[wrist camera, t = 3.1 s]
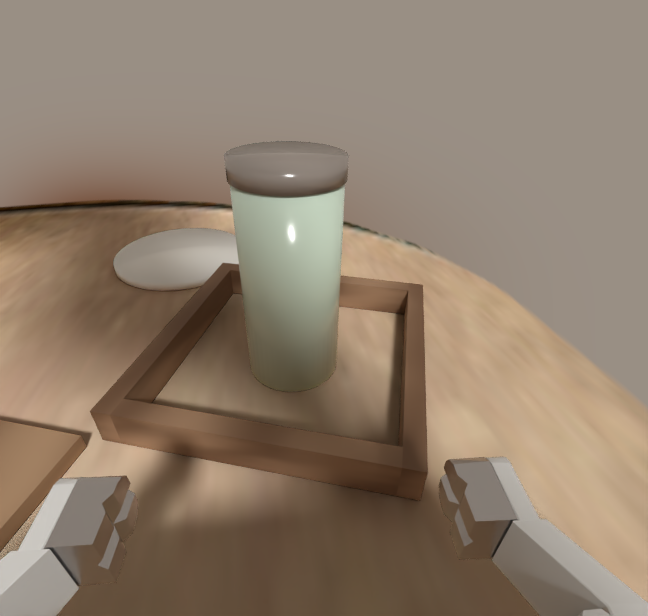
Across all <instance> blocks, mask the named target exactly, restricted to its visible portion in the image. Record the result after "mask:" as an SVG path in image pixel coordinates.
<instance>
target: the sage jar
mask: <svg viewBox="0 0 648 616" xmlns="http://www.w3.org/2000/svg"><path fill="white" fill-rule="evenodd" d="M224 160H225V167H226V176H227V182H228V183H229V184H230V191H231V200H232V209H233V217H234V226H235V235H236V244H237V252H238V261H239V270H240V278H241V287H242V296H243V305H244V313H245V322H246V331H247V339H248V348H249V357H250V366H251V370H252V373H253V375H254V376H255V378H256V379H257V380H258V381H259V382H261V383H262V384H263V385H265V386H267V387H269V388H272V389H275V390H279V391H285V392H298V391H305V390H309V389H312V388H314V387H317V386H319V385H321V384H322V383H324V382H325V381H326V380H328V379H329V378H330V376H331V375H332V374H333V372H334V370H335V368H336V360H337V339H338V318H339V297H340V277H341V256H342V235H343V214H344V193H345V190H344V189H345V183H346V182H347V177H348V176H347V175H348V154H347V152H345V151H344V150H342V149H340V148H337V147H333V146H330V145H325V144H319V143H310V142H296V141H276V142H262V143H253V144H247V145H243V146H239V147H236V148H233V149H230V150H229V151H227V152H226V153H225V154H224Z"/></svg>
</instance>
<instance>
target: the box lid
mask: <svg viewBox="0 0 648 616" xmlns="http://www.w3.org/2000/svg"><path fill="white" fill-rule="evenodd" d="M86 447H87V446H86V444H85V442H84V440H83V438H82V436H81V435H76V434H71V433H65V432H60V431H55V430H50V429H45V428H39V427H34V426H29V425H24V424H19V423H13V422H8V421H3V420H0V551H1V550H2V549H3V547H4V546H5V545H6V544H7V542H8V541H9V540H10V539H11V538H12V536H13V535H14V534H15V533H16V532H17V530H18V529H19V528H20V527H21V525H22V524H23V523H24V522H25V521H26V519H27V518H28V517H29V516H30V515H31V513H32V512H33V511H34V510H35V508H36V507H37V506H38V505H39V504H40V502H41V501H42V500H43V499H44V498H45V496H46V495H47V494H48V493H49V491H50V490H51V488H52V486H53V485H54V484H55V483H56V482H57V481H58V480H59V479H60V478H61V477H62V476H63V475H64V473H65V472H66V471H67V470H68V468H69V467H70V466H71V465H72V464H73V462H74V461H75V460H76V459H77V458H78V456H79V455H80V454H81V453H82V451H83V450H84V449H85V448H86Z"/></svg>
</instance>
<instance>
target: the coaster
mask: <svg viewBox="0 0 648 616" xmlns="http://www.w3.org/2000/svg"><path fill="white" fill-rule="evenodd" d="M222 263H232V264H239V261H238V252H237V244H236V236H235V235H233V234H231V233H228V232H225V231H221V230H216V229H208V228H184V229H175V230H168V231H163V232H159V233H155V234H151V235H148V236H145V237H142V238H140V239H138V240H135V241H133V242H131V243H130V244H128V245H126V246H125V247H124V248H122V249H121V250H120V251H119V252H118V253H117V254H116V256H115V258H114V260H113V265H114V269H115V272H116V275H117V276H118V278H119V279H120V280H122V281H123V282H125V283H126V284H128V285H131V286H133V287H137V288H141V289H147V290H156V291H172V290H183V289H190V288H196V287H200V286H202V285H203V284H204V283H205V282H206V281H207V280H208V279H209V278H210V277H211V275H212V274H213V273H214V272H215V271H216V270H217V269H218V268H219V266H220V265H221V264H222Z"/></svg>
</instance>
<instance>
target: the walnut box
mask: <svg viewBox="0 0 648 616" xmlns="http://www.w3.org/2000/svg"><path fill="white" fill-rule="evenodd" d="M233 293H237V294H242V287H241V278H240V270H239V264H232V263H222V264H221V265H220V266H219V268H218V269H217V270H216V271H215V272H214V273H213V274H212V275H211V277H210V278H209V279H208V280H207V281H206V282H205V283H204V284H203V285H202V287H201V288H200V289H199V290H198V291H197V292H196V293H195V294H194V296H193V297H192V298H191V299H190V300H189V301H188V302H187V303H186V304H185V306H184V307H183V308H182V309H181V310H180V311H179V312H178V313H177V315H176V316H175V317H174V318H173V319H172V320H171V321H170V322H169V323H168V325H167V326H166V327H165V328H164V329H163V330H162V331H161V332H160V334H159V335H158V336H157V337H156V338H155V339H154V340H153V341H152V342H151V344H150V345H149V346H148V347H147V348H146V349H145V350H144V351H143V353H142V354H141V355H140V356H139V357H138V358H137V359H136V360H135V361H134V363H133V364H132V365H131V366H130V367H129V368H128V369H127V370H126V372H125V373H124V374H123V375H122V376H121V377H120V378H119V379H118V380H117V382H116V383H115V384H114V385H113V386H112V387H111V388H110V389H109V391H108V392H107V393H106V394H105V395H104V396H103V397H102V398H101V399H100V401H99V402H98V403H97V404H96V405H95V406H94V407H93V408H92V410H91V411H90V412H91V415H92V417H93V419H94V421H95V423H96V426H97V428H98V430H99V432H100V434H101V436H102V439H103V440H107V441H112V442H118V443H123V444H128V445H133V446H138V447H144V448H149V449H154V450H159V451H164V452H170V453H175V454H180V455H185V456H190V457H196V458H201V459H206V460H211V461H216V462H222V463H227V464H232V465H237V466H242V467H248V468H253V469H258V470H263V471H268V472H274V473H279V474H284V475H289V476H294V477H300V478H305V479H310V480H315V481H320V482H326V483H331V484H336V485H341V486H346V487H352V488H357V489H362V490H367V491H372V492H378V493H383V494H388V495H393V496H398V497H404V498H409V499H414V500H419V501H420V498H421V495H422V491H423V488H424V484H425V480H426V477H427V473H428V465H427V426H426V388H425V349H424V310H423V285H420V284H411V283H402V282H393V281H384V280H375V279H366V278H357V277H348V276H341V277H340V297H339V306H343V307H351V308H359V309H367V310H375V311H383V312H391V313H400V314H404V335H403V357H402V379H401V401H400V422H399V444H398V446H394V445H388V444H382V443H377V442H371V441H365V440H359V439H354V438H348V437H342V436H336V435H331V434H325V433H319V432H313V431H307V430H302V429H296V428H290V427H284V426H279V425H273V424H267V423H261V422H256V421H250V420H244V419H238V418H232V417H227V416H221V415H215V414H209V413H204V412H198V411H192V410H186V409H181V408H175V407H169V406H163V405H157V404H152V402H153V401H154V399H155V398H156V396H157V395H158V394H159V392H160V391H161V390H162V388H163V387H164V386H165V384H166V383H167V382H168V380H169V379H170V378H171V376H172V375H173V374H174V372H175V371H176V370H177V368H178V367H179V365H180V364H181V363H182V361H183V360H184V359H185V357H186V356H187V355H188V353H189V352H190V351H191V349H192V348H193V347H194V345H195V344H196V343H197V341H198V340H199V339H200V337H201V336H202V335H203V333H204V332H205V330H206V329H207V328H208V326H209V325H210V324H211V322H212V321H213V320H214V318H215V317H216V316H217V314H218V313H219V312H220V310H221V309H222V308H223V306H224V305H225V304H226V302H227V301H228V300H229V298H230V297H231V295H232V294H233Z"/></svg>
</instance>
